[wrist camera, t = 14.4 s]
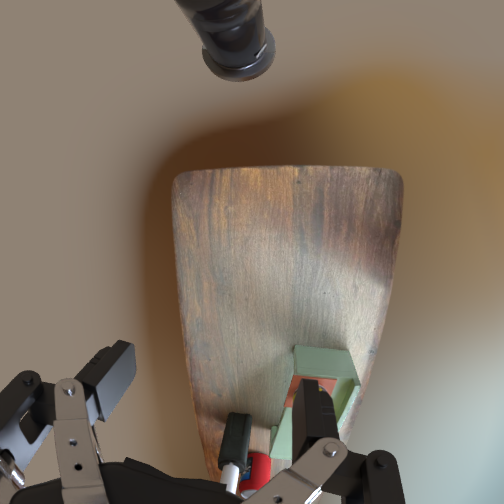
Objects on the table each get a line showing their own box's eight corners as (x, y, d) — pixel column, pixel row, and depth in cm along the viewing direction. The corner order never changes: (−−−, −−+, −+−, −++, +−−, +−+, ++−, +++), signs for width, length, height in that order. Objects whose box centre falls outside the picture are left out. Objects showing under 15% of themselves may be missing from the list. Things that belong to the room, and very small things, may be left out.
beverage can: (242, 449, 58) (236, 488, 46) (271, 450, 57) (268, 490, 46) (244, 463, 59) (239, 500, 48) (271, 464, 59) (268, 501, 47)
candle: (227, 426, 56) (206, 520, 32) (228, 411, 54) (204, 511, 30) (251, 428, 55) (237, 525, 31) (252, 414, 54) (237, 516, 30)
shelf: (292, 344, 49) (294, 380, 39) (349, 350, 48) (361, 385, 39) (268, 430, 55) (265, 464, 45) (314, 434, 55) (317, 468, 45)
